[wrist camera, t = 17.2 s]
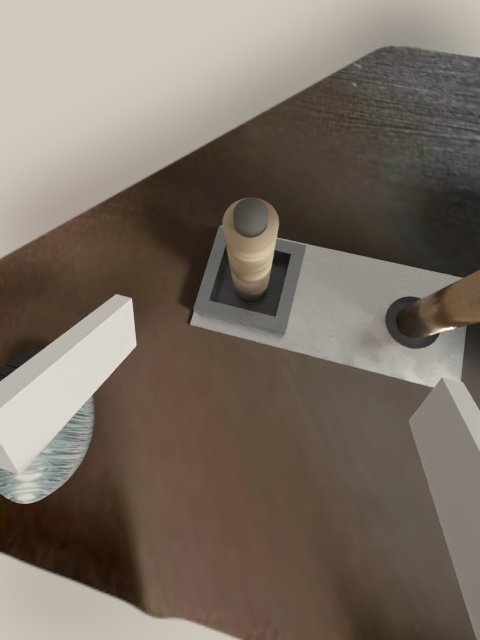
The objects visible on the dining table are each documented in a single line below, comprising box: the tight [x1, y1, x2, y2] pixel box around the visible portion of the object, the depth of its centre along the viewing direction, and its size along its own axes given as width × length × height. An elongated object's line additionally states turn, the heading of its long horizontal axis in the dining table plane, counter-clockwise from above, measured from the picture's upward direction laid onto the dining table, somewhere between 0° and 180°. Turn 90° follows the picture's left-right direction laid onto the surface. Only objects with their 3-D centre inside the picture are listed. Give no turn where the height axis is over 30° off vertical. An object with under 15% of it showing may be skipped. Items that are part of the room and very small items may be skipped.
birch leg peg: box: [223, 198, 279, 300], centre depth 28 cm, size 4×4×15 cm
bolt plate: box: [190, 226, 480, 388], centre depth 28 cm, size 32×14×14 cm, turn 75°
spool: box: [0, 395, 94, 503], centre depth 30 cm, size 14×10×10 cm
